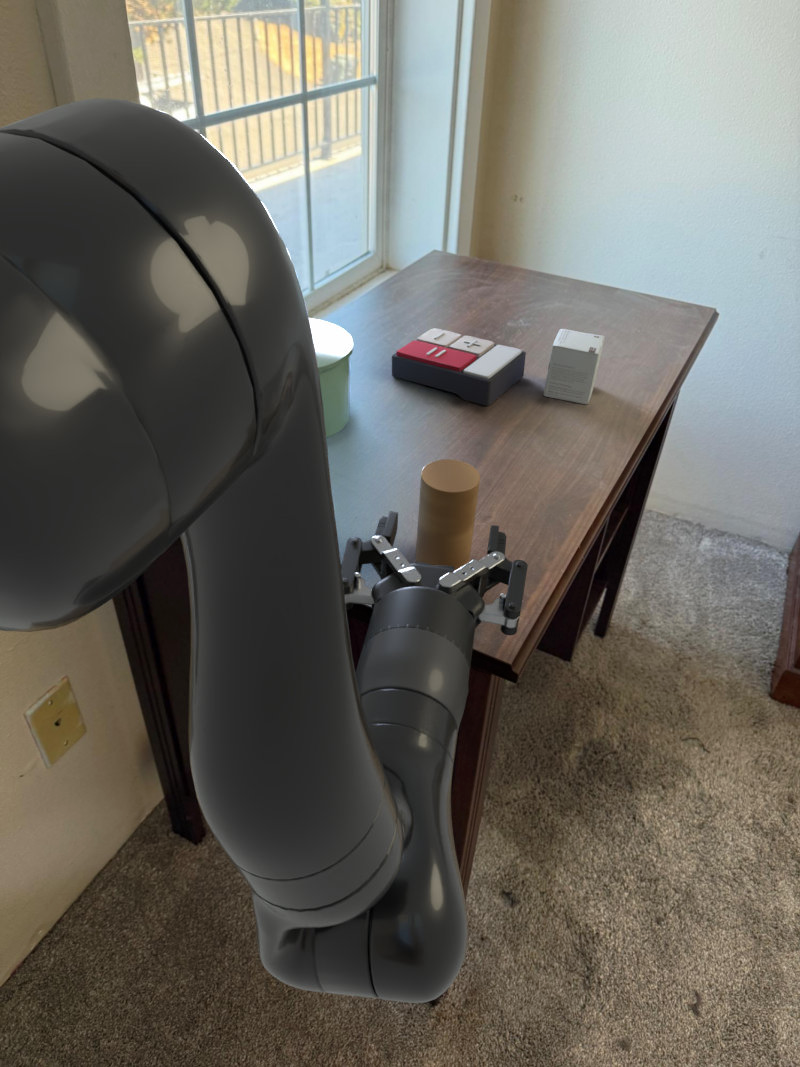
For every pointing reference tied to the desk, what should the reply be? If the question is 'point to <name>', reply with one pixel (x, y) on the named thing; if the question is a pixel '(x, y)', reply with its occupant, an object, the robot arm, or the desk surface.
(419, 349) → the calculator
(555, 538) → the desk surface
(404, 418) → the desk surface
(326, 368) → the pot
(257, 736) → the robot arm
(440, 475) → the tall wooden cylinder
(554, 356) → the white cardboard box
